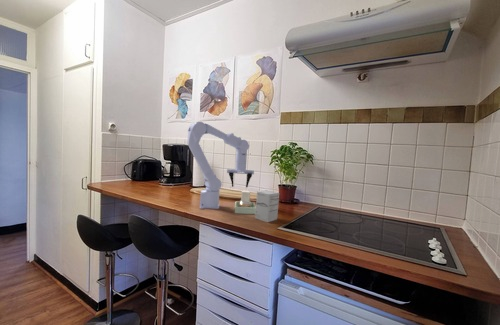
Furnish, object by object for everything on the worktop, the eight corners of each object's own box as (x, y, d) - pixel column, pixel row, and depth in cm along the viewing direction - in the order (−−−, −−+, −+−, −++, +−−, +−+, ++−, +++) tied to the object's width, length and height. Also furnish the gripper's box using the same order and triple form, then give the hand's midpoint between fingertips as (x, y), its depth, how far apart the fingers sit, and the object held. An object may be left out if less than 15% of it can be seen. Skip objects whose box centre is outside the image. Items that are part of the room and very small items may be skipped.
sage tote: (234, 214, 110) (235, 206, 110) (234, 207, 122) (235, 201, 122) (255, 215, 111) (256, 207, 111) (253, 208, 123) (254, 202, 123)
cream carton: (241, 202, 115) (241, 191, 115) (241, 200, 119) (241, 190, 119) (249, 202, 115) (249, 192, 115) (249, 200, 119) (249, 190, 119)
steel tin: (239, 211, 115) (239, 202, 114) (239, 208, 120) (239, 199, 120) (250, 211, 115) (251, 202, 115) (250, 208, 121) (250, 200, 120)
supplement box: (254, 219, 104) (256, 191, 104) (265, 216, 110) (266, 189, 109) (267, 223, 99) (269, 194, 99) (277, 220, 105) (279, 192, 104)
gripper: (227, 161, 122) (226, 187, 122) (255, 163, 123) (253, 188, 123) (227, 160, 129) (226, 185, 129) (253, 162, 130) (252, 186, 131)
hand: (239, 186), depth 127 cm, fingers open, 7 cm apart
